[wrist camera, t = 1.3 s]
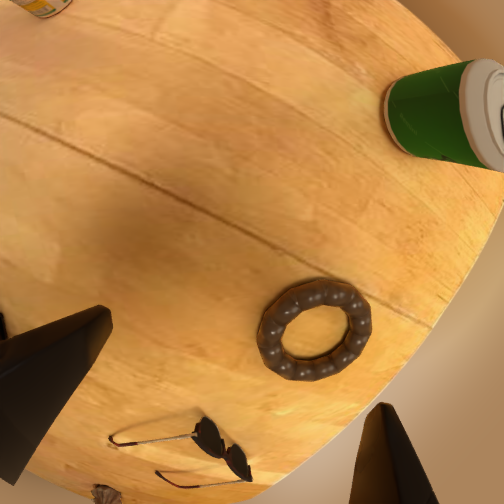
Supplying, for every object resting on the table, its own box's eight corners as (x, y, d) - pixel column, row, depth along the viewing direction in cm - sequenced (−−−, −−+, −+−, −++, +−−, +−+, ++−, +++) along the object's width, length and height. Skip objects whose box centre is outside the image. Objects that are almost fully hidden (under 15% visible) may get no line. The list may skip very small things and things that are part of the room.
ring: (341, 374, 31) (347, 386, 29) (244, 366, 29) (246, 380, 27) (382, 287, 28) (392, 297, 25) (275, 266, 26) (280, 276, 24)
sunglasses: (252, 455, 35) (253, 483, 30) (162, 470, 37) (158, 495, 32) (198, 404, 30) (195, 438, 26) (103, 425, 32) (94, 452, 28)
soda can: (382, 159, 23) (484, 178, 12) (371, 75, 21) (466, 44, 9) (444, 155, 24) (540, 174, 12) (435, 81, 21) (529, 69, 10)
